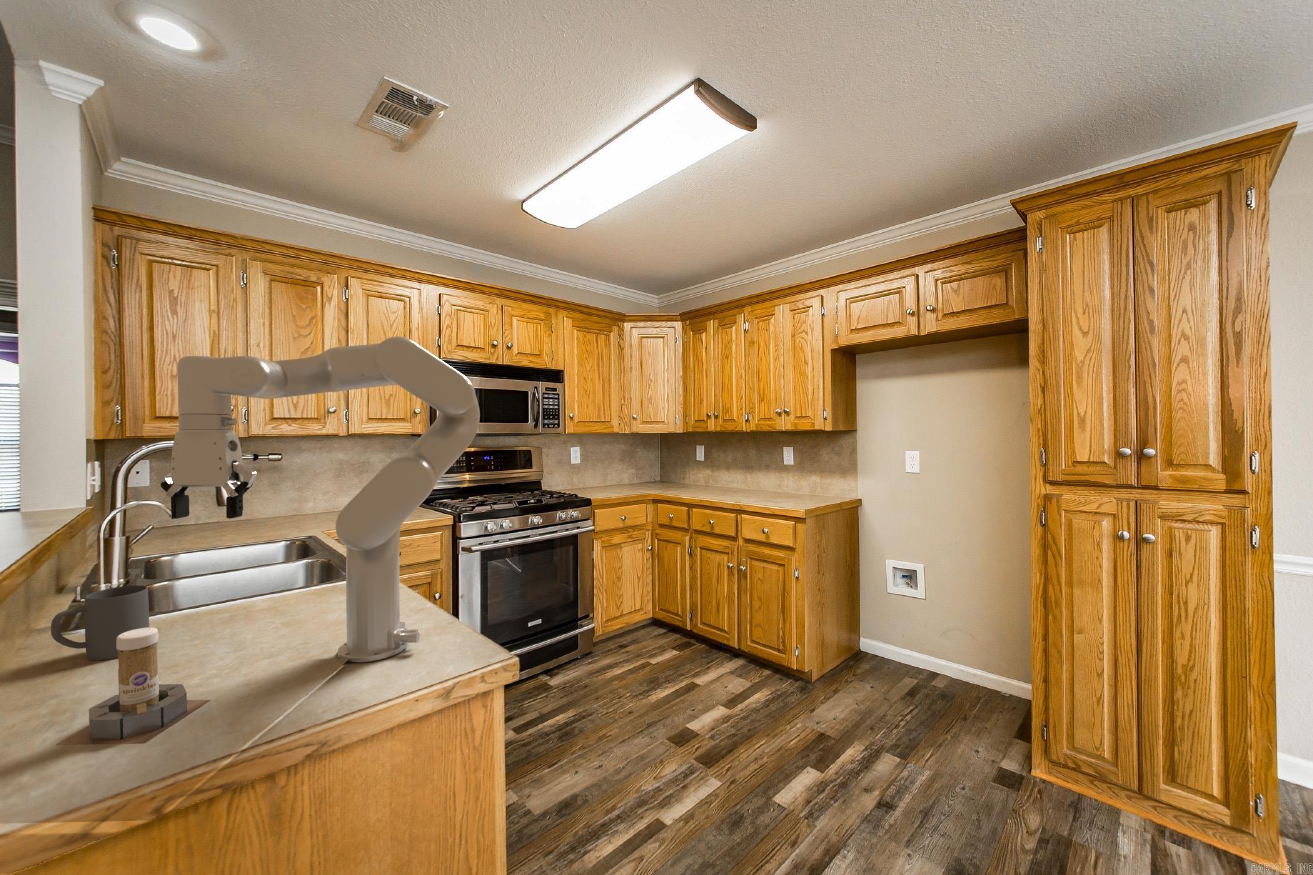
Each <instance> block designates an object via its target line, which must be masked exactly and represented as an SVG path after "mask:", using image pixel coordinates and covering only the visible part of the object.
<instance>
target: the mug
mask: <svg viewBox="0 0 1313 875" xmlns="http://www.w3.org/2000/svg"><path fill="white" fill-rule="evenodd" d="M149 604H150V603H149V589H148V586H145V585H137V584H136V585H124V586H118V587H117V586H116V587H110V588H106V589H101V590H97V591H94V592H91V593H88V594H86V596H85V597H84V605H82V606H79V607H73V608H70V609H66V610H63V611H61V612H58V613H57V614H56V615H54V617H53V619H52V620H51V623H50V635H51V636H52V639H53V640H54V641H55V642H56V643H58V644H60V645H63V646H64V647H69V648H72V649H79V650H80V649H85V654H86V658H87V659H88V660H90V661H108V660H115V659H119V657H118V650H117V648H116V639H117V637H118V636H119V635H120V634H122V633H124V632H127V631H131V630H135V629H140V628H150V606H149ZM79 613H84V639H85V641H83V642H82V641H81V642H80V641H74V640H71V639H69V638H67V637H65V636H63V634H62V633H61V629H60V628H61V621H62V620H63V618H64V617H66V616H70V615H75V614H79Z"/></svg>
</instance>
